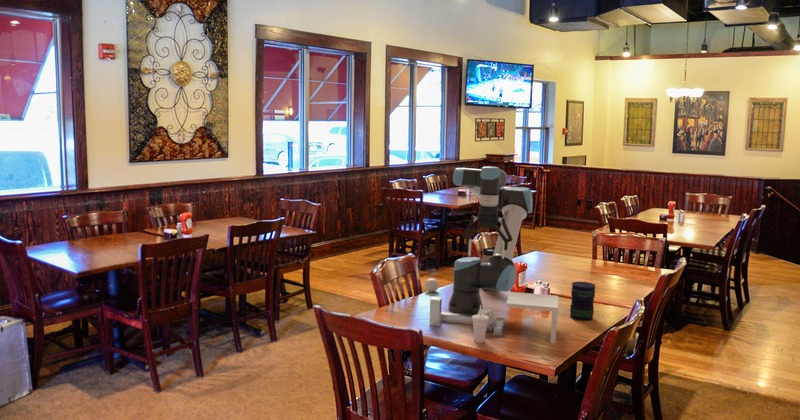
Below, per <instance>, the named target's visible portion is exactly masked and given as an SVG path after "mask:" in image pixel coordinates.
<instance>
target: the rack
mask: <svg viewBox="0 0 800 420" xmlns="http://www.w3.org/2000/svg"><path fill="white" fill-rule="evenodd" d="M505 308H515V309H524V310H525V309H526V310H534V311H537V310H538V311H545V312H546V311H547V312H551V326H550V338H549V339H550V340H549V341H550V342H552V343H551V344H557V343H556V342H557V328H558V327H557V325H558V310H559V309H558V308H559V296H558V295H553V294H552V295H551V294H540V293H530V292H529V293H528V292H516V291H509V293H508V297H507V300H506V304H505ZM550 342H549V343H550Z"/></svg>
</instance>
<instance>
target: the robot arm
mask: <svg viewBox="0 0 800 420" xmlns="http://www.w3.org/2000/svg"><path fill="white" fill-rule="evenodd" d="M508 180H509V179H508V174H507V173H506V171H504V170H503V169H500V167H498V166H492V165H491V166H490V165H489V166H483V167H481V168H469V167H468V168H467V167H456V168H455V169H454V171H453V173H452V182H453V185H455V186H459V187H464V188H466V189H467V190H468V191H469V192H471V194H473V195H474V196H475V197H476V199H477V201H478V202H479V203H478V204H479V206H478V216H475V215H471V217H470V220H469V223H468V225H467V226H466V229H465V230H464V231H463V234H462V236H461V238H462V239H465V240H466V241H465V248H468V252H467V255H468V256H467V257H461V258H458V259H456V260H455V261H454V264H453V266H454V268H453V283H452V284H453V285H452V286H453V289H452V290H453V291H452V294H451V296H450V300H449V301H448V310H449V311H451V313H456V314H466V315H477V314H478V312H479V309H480V305H481V309H483V310H484V308H483V307H484V304H483V302H482V297H481V295H480V294H481V293H480V292H481V291H480V289H481V290H483V289H487V290H493V291H496V292H504V293H505V292H510V291H511V290H512V289H513V288H514V285H515V282H516V280H517V272H518V271H517V267H516V266H515V263H514V261H513V259H514V258H513V257H514V254H515V250H516V245H517V242H518V238H519V234H520V229H521V225H522V222H523V220H524V219H526V218H527V216H528V214H532V212H533V206H534V205H533V203H534V202H533V192H532V190H531V188H529V187H523V186H521V187H518V186H505V185H506V184H507V183H508ZM499 211H501V213H502V215H503V217H498V215H499V213H498V212H499ZM476 221H478V223H479V224H478V225H477V226H476V227H475V228H474V229H473V230H472V231H471V232H470V233H469V231H470V229H471V227H472V226H473V224H474V222H476ZM498 223H500V224H501V225H500V227H499V226H498ZM480 228H483V229H486V228H487V229H494V231H496V233H498V235H497V239H496V243H495V247H494V249H495V250H494V254H493V256H491V257H489V259H488V262H482V258H480V257H476V256H471V255H472V239H471V238H472V237H473V236H474V235H475V234H476V232H478V230H480ZM468 233H469V234H468ZM487 290H486V291H487Z"/></svg>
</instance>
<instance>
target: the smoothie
mask: <svg viewBox="0 0 800 420" xmlns="http://www.w3.org/2000/svg"><path fill="white" fill-rule="evenodd" d="M472 315H473V316H472V320H473V324H472V328H473V340H474V342H475V343H477V344H482V343H485V338H486V333H487V331H486V328H487V322H488V320H489V317H488V316H486V315H481V305H480V315H477V314H472Z"/></svg>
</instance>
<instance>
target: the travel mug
mask: <svg viewBox="0 0 800 420" xmlns="http://www.w3.org/2000/svg"><path fill="white" fill-rule="evenodd" d="M494 250H495V247H494V248H492V247H486V248H483V249H482V258H481V262H488V259H489V257H491V256H493V254H494ZM482 290H483V291H488V292H489V291H490V292H491V291H494V290H487V289H482Z"/></svg>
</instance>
